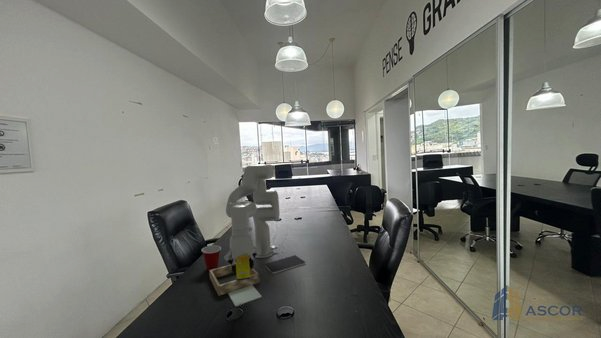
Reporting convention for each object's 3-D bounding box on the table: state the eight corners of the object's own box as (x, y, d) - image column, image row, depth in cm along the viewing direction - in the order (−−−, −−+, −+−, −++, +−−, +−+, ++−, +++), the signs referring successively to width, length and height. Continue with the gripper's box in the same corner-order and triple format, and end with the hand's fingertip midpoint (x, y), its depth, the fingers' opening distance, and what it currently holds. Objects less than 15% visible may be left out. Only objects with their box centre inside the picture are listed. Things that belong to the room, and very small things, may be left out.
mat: (252, 285, 120) (252, 285, 120) (261, 297, 110) (261, 296, 110) (228, 293, 114) (228, 293, 114) (235, 306, 104) (235, 305, 104)
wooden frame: (246, 268, 140) (245, 260, 140) (259, 282, 123) (258, 273, 123) (209, 278, 130) (209, 270, 130) (218, 295, 113) (218, 286, 113)
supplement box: (236, 275, 114) (235, 252, 113) (249, 273, 115) (248, 250, 115) (236, 281, 108) (235, 257, 108) (250, 279, 109) (248, 255, 109)
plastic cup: (216, 273, 136) (214, 252, 135) (198, 272, 138) (197, 251, 137) (225, 264, 146) (224, 245, 146) (209, 263, 149) (208, 244, 148)
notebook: (295, 257, 153) (263, 266, 143) (295, 255, 153) (263, 264, 142) (306, 264, 142) (272, 275, 132) (305, 262, 142) (272, 272, 132)
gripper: (255, 226, 118) (257, 262, 119) (219, 234, 109) (221, 272, 110) (261, 230, 112) (263, 267, 113) (223, 238, 103) (226, 279, 104)
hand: (243, 269), depth 112 cm, fingers closed on supplement box, 7 cm apart
